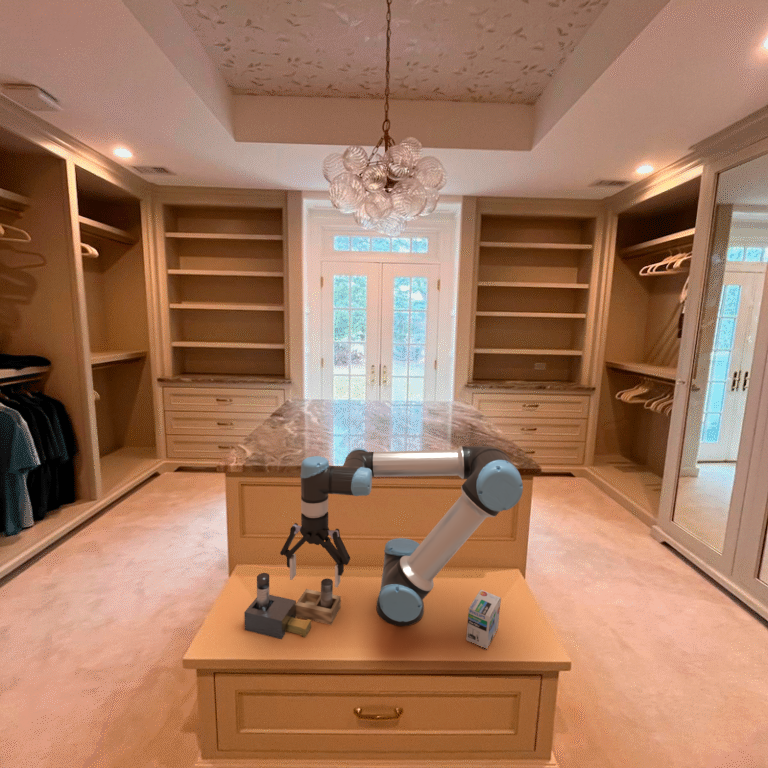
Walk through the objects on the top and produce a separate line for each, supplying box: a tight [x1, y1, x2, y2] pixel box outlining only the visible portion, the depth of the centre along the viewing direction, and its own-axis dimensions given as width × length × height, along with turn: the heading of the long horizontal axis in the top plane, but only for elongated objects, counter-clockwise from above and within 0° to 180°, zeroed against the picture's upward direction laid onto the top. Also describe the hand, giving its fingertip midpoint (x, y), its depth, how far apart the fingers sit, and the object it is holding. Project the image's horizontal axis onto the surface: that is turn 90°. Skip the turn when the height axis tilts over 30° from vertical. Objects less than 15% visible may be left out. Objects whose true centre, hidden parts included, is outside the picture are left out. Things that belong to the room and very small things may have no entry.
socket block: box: [243, 594, 297, 640], centre depth 126 cm, size 12×9×6 cm
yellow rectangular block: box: [285, 617, 312, 638], centre depth 125 cm, size 11×4×3 cm, turn 76°
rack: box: [296, 578, 342, 626], centre depth 132 cm, size 12×8×11 cm, turn 76°
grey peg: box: [256, 572, 270, 611], centre depth 126 cm, size 4×4×12 cm
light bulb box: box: [465, 589, 502, 649], centre depth 126 cm, size 11×7×11 cm, turn 148°
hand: (315, 580), depth 121 cm, fingers open, 13 cm apart
